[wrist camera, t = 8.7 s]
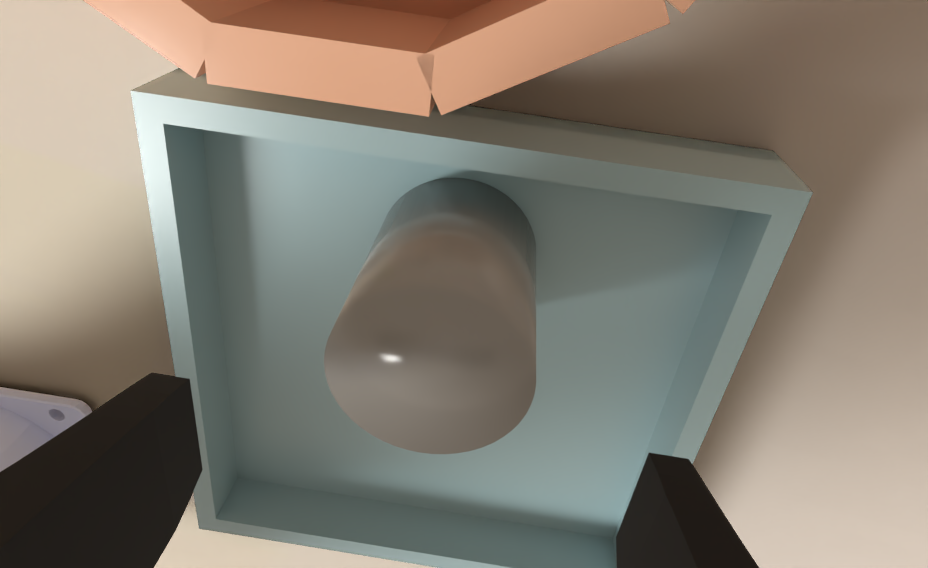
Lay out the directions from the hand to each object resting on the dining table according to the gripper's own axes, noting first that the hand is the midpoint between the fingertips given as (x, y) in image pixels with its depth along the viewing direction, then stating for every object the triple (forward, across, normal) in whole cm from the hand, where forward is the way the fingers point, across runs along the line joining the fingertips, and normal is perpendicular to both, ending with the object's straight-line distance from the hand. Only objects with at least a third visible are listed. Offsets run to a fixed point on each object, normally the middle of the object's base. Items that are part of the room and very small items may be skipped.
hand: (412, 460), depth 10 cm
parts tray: (+8, 0, +4) cm, 9 cm away
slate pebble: (+7, 0, 0) cm, 7 cm away
